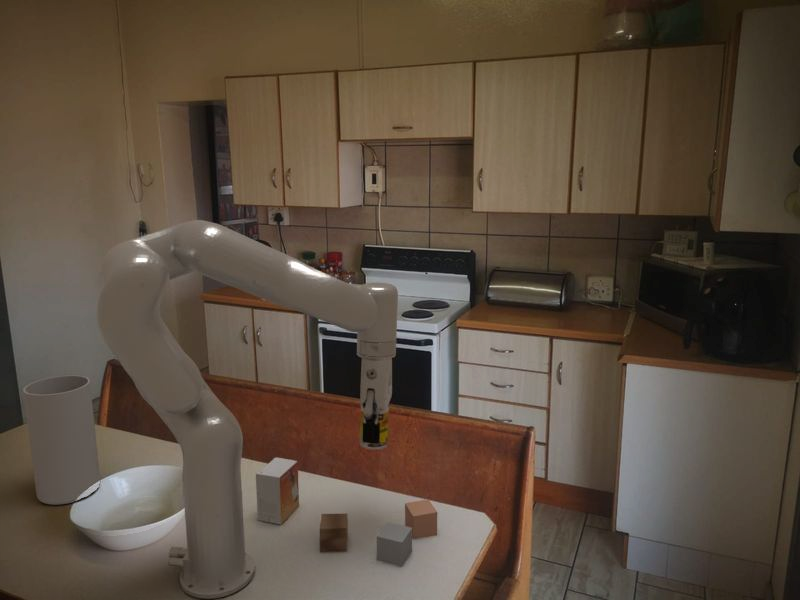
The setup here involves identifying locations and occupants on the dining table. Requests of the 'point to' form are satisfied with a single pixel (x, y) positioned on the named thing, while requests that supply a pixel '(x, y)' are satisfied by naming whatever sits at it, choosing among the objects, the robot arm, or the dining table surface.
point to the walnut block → (333, 532)
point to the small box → (277, 490)
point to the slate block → (394, 544)
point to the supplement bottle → (383, 429)
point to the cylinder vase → (61, 437)
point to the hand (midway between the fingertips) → (373, 434)
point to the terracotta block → (421, 518)
